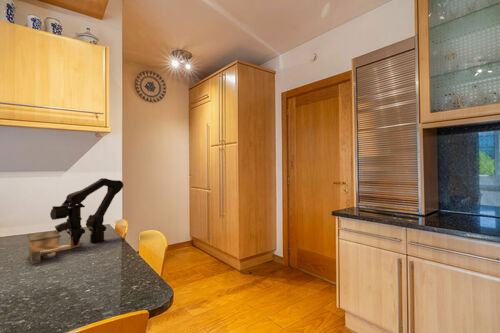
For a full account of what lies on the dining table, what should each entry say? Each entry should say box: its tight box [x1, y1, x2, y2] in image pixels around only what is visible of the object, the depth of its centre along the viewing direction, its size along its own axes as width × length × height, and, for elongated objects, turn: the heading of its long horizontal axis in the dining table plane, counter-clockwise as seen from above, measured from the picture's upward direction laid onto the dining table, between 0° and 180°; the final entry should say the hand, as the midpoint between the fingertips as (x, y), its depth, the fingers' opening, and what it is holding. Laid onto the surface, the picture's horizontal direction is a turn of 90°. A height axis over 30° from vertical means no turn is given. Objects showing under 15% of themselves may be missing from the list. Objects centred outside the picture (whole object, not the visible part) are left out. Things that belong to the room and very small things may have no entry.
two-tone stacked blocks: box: [40, 236, 81, 255], centre depth 133 cm, size 16×5×5 cm, turn 135°
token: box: [42, 250, 57, 259], centre depth 123 cm, size 5×5×2 cm
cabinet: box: [27, 230, 62, 265], centre depth 122 cm, size 11×15×11 cm
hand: (74, 244), depth 138 cm, fingers closed on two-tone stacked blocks, 4 cm apart
